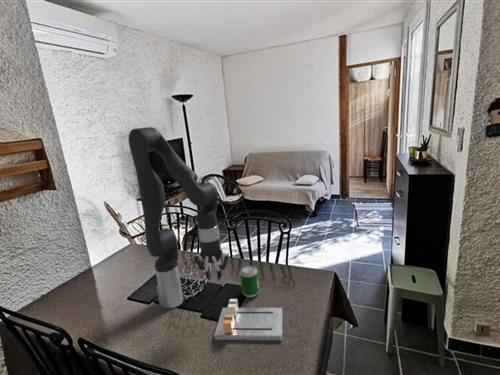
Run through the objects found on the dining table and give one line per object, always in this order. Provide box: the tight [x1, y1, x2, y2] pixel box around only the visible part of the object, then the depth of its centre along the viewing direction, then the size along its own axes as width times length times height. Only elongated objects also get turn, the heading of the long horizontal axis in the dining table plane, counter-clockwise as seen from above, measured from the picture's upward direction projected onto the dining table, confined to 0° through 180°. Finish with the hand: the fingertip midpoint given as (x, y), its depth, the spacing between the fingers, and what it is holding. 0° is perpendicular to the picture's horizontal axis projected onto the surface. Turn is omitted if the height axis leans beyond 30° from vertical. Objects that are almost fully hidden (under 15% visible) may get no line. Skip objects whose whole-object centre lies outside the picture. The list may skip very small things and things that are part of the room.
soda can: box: [239, 265, 260, 298], centre depth 129 cm, size 8×8×12 cm
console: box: [213, 307, 283, 341], centre depth 110 cm, size 24×16×2 cm, turn 84°
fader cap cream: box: [227, 298, 239, 316], centre depth 115 cm, size 3×5×4 cm, turn 174°
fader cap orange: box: [223, 314, 235, 333], centre depth 107 cm, size 3×5×4 cm, turn 174°
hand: (214, 278), depth 113 cm, fingers open, 3 cm apart
